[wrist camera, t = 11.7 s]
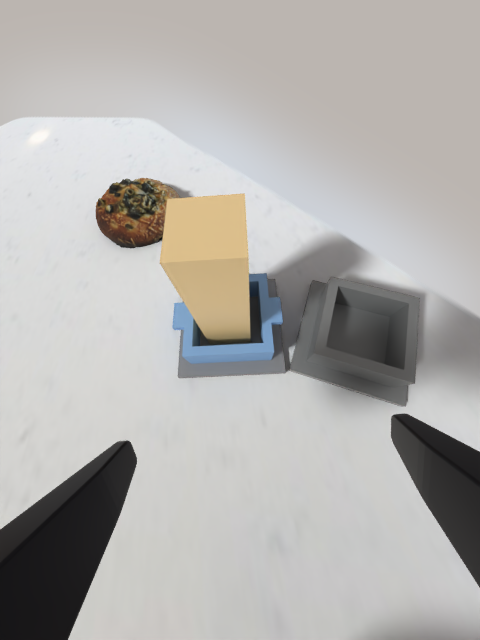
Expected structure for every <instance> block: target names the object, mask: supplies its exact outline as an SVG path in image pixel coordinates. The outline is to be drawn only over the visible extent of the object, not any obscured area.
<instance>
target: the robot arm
mask: <svg viewBox="0 0 480 640" xmlns="http://www.w3.org/2000/svg"><path fill="white" fill-rule="evenodd" d="M391 438H392V441H393V444H394V446H395V447H396V449H397V451H398V453H399V455H400V457H401V459H402V461H403V463H404V465H405V467H406V468H407V470H408V472H409V474H410V476H411V478H412V480H413V482H414V484H415V486H416V487H417V489H418V491H419V493H420V495H421V496H422V498H423V500H424V501H425V503H426V505H427V506H428V508H429V509H430V511H431V512H432V514H433V516H434V517H435V519H436V520H437V522H438V523H439V525H440V526H441V528H442V530H443V531H444V533H445V534H446V536H447V537H448V539H449V540H450V542H451V544H452V545H453V547H454V548H455V550H456V551H457V553H458V554H459V556H460V558H461V559H462V561H463V562H464V564H465V565H466V567H467V568H468V570H469V572H470V573H471V575H472V576H473V578H474V579H475V581H476V582H477V584H478V586H479V587H480V452H479V451H477V450H475V449H473V448H471V447H470V446H468V445H466V444H464V443H462V442H460V441H458V440H456V439H454V438H452V437H450V436H448V435H447V434H445V433H443V432H441V431H439V430H437V429H435V428H433V427H431V426H429V425H427V424H426V423H424V422H422V421H420V420H418V419H416V418H414V417H412V416H410V415H408V414H396V415H393V416H392V418H391ZM136 464H137V457H136V454H135V452H134V449H133V447H132V444H131V442H130V441H119V442H116V443H115V444H114V445H112V446H111V447H110V448H108V449H107V450H106V451H104V452H103V453H102V454H100V455H99V456H98V457H96V458H95V459H94V460H92V461H91V462H90V463H88V464H87V465H86V466H84V467H83V468H82V469H80V470H79V471H78V472H76V473H75V474H74V475H72V476H71V477H70V478H68V479H67V480H66V481H64V482H63V483H62V484H60V485H59V486H58V487H56V488H55V489H54V490H52V491H51V492H50V493H48V494H47V495H46V496H44V497H43V498H42V499H40V500H39V501H38V502H36V503H35V504H34V505H32V506H31V507H30V508H28V509H27V510H26V511H24V512H23V513H22V514H20V515H19V516H18V517H16V518H15V519H14V520H12V521H11V522H10V523H8V524H7V525H6V526H4V527H3V528H2V529H0V640H68V638H69V636H70V633H71V631H72V628H73V626H74V624H75V621H76V619H77V616H78V614H79V612H80V609H81V607H82V605H83V602H84V600H85V597H86V595H87V593H88V590H89V588H90V585H91V583H92V581H93V578H94V576H95V573H96V571H97V569H98V566H99V564H100V561H101V559H102V557H103V554H104V552H105V550H106V547H107V545H108V542H109V540H110V538H111V535H112V533H113V530H114V528H115V526H116V523H117V521H118V518H119V516H120V513H121V510H122V507H123V504H124V501H125V498H126V495H127V492H128V489H129V486H130V483H131V480H132V477H133V474H134V471H135V468H136Z"/></svg>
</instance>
